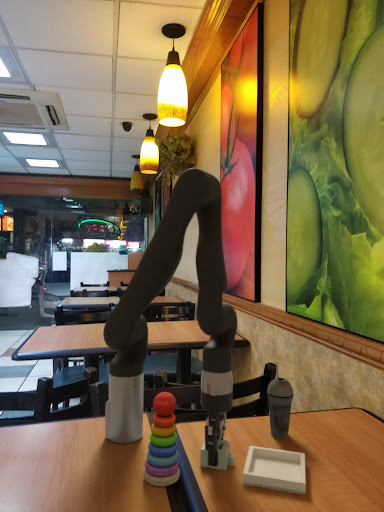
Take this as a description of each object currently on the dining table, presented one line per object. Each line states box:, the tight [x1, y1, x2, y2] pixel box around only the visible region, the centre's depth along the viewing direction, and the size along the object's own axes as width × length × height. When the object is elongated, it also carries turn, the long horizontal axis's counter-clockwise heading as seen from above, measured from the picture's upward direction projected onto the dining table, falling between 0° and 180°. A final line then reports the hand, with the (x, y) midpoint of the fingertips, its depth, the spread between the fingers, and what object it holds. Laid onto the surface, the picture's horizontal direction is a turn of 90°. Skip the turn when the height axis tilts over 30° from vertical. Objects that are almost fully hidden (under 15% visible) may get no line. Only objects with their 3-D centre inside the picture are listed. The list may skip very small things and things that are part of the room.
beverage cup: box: [266, 361, 295, 440], centre depth 109 cm, size 7×7×20 cm
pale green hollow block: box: [199, 439, 235, 471], centre depth 95 cm, size 7×6×4 cm
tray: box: [242, 445, 307, 496], centre depth 90 cm, size 13×13×2 cm
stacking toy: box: [143, 391, 181, 487], centre depth 88 cm, size 8×8×19 cm
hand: (215, 458), depth 95 cm, fingers closed on pale green hollow block, 6 cm apart
